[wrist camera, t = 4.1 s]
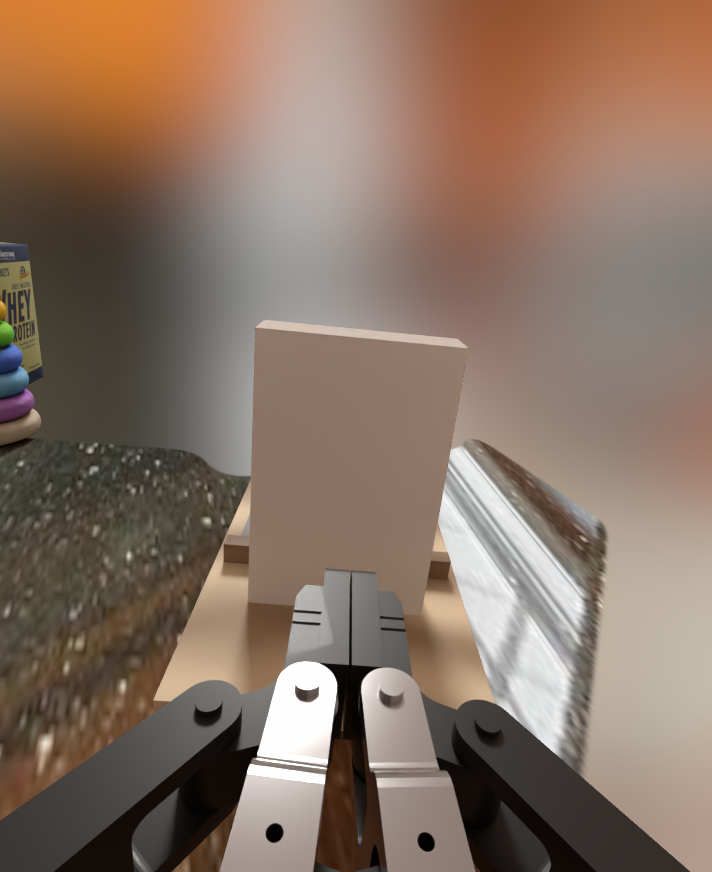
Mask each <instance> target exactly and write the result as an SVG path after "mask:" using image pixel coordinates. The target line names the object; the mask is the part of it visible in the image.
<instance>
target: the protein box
mask: <svg viewBox="0 0 712 872" xmlns="http://www.w3.org/2000/svg"><path fill="white" fill-rule="evenodd" d="M0 301H2V302H3V303H4V305H5V306H6V310H7V313H6V316H5V318H4V319H3V320H2V321H4V322H6V323H8V324H9V325H10V326H11V327H12V328H13V330H14V339H13V341H12V342H11V344H13V345H15V346H16V347H18V348H19V349H20V351H21V353H22V355H23V361H22V363H21V365H20V367H22V368H23V369H24V370H25V371H26V372H27V374H28V376H29V383H28V384H30V383H32V382H34V381H36V380H38V379H40V378H42V377H43V371H42V362H41V355H40V347H39V337H38V329H37V322H36V313H35V305H34V297H33V289H32V280H31V272H30V263H29V255H28V245H22V244H12V243H0Z"/></svg>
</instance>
